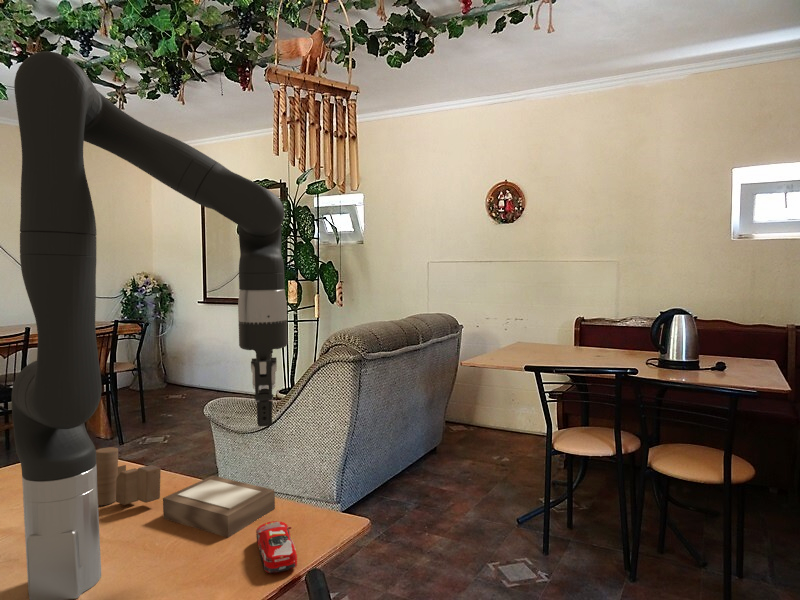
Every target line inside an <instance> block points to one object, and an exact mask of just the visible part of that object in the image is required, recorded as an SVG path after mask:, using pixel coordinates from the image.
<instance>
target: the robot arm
mask: <svg viewBox="0 0 800 600" xmlns="http://www.w3.org/2000/svg"><path fill="white" fill-rule="evenodd" d="M13 83H14V85H13V87H14V88H13V89H14V97H15V104H16V105H15V106H16V111H17V112H16V113H17V119H18V120H17V121H18V127H19V128H18V129H19V136H20V143H21V176H20V178H21V179H20V219H19V220H20V221H19V222H20V223H19V260H20V262H19V263H20V269H21V274H22V280H23V285H24V286H25V291H26V294H27V298H28V300H29V303H30V306H31V308H32V312H33V313H32V314H33V316H34V319H35V324H36V331H37V348H36V349H37V351H36V354H37V355H36V360H35V361H32V362H31V363H29V364H27V365H26V366H25V367H24V368H23V369H22V370H21V371H20V372H19V373H18V375H17V376H16V377H15V379H14V383H13V385H12V389H11V414H12V425H13V435H14V446H15V452H16V455H17V458H18V460H19V463H20V466H21V467H20V468H21V481H22V500H23V502H22V503H23V520H24V537H25V540H24V541H25V557H26V558H25V559H26V572H27V573H26V574H27V577H26V578H27V589H28V590H27V591H28V593H27V594H28V599H29V600H73V599H74V600H75V599H78V598H79V597H80V596H81V595H82V594H83V593H85V592H87V591H88V590H90V589H91V588H92V587H94V586H96V584H97V583H98V582H99V581H100V580H101V577H102V561H101V558H102V557H101V542H100V540H101V537H100V516H99V515H100V514H99V505H98V491H97V467H96V450H97V449H96V446H95V444H94V442H93V441H92V439H91V438H90V436H89V434H88V432H87V429H86V424H85V423H86V422H87V421H88V420H90V419H91V418H92V416H93V415H94V414H95V412H96V410H97V409H98V407H99V404H100V401H101V399H102V398H101V397H102V389H103V388H102V385H103V383H102V375H101V367H100V360H99V352H98V351H99V350H98V342H97V332H96V330H97V329H96V307H97V303H96V301H97V285H96V284H97V283H96V282H97V280H96V279H97V276H96V275H97V223H96V216H95V209H94V205H93V200H92V197H91V196H92V195H91V191H90V187H89V183H88V179H87V175H86V174H87V173H86V169H85V162H84V143H85V142H86V143H88V144H91V145H94V146H96V147H98V148H100V149H103V150H104V151H107V152H109V153H111V154H113V155H115V156H117V157H118V158H121V159H122V160H124V161H127V162H128V163H130V164H131V165H133V166H135V167H137V169H140V170H141V171H143V172H145V173H146V174H148V175H149V176H151V177H152V178H154V179H155V180H157V181H158V182H160V183H162V184H164V185H165V186H167V187H168V188H170V189H171V190H174V191H175V192H177V193H179V194H180V195H183V196H184V197H185V198H187V199H189V200H191V201H193V202H194V203H196V204H197V205H200V206H203V207H204V208H208V209H211V210H213V211H215V212H216V213H218V214H220V215H222V216H223V217H225V218H226V219H228V220H230V221H231V222H233V223H235V224H236V225H237V229H238V241H239V251H240V257H239V261H238V262H239V263H238V285H239V287H238V290H239V292H238V294H239V295H238V302H237V303H238V304H237V315H238V316H237V317H238V345H239V348H240V349H242V350H245V351H254V352H255V358H254V357H253V358H251V361H250V372H251V374H252V382H251V383H252V389H254V401H255V403H256V418H257V419H256V421H257V426H258V427H270V426H272V424H273V406H274V405H273V399H274V394H273V389H275V387H276V373H277V371H278V370H277V367H278V366H277V363H278V362H277V357H276V356H275V357H274V356H273V353H274V352H273V350H279V349H283V348H286V347H287V345H288V341H289V340H288V309H287V308H288V306H287V305H288V303H287V297H286V290H285V288H286V286H285V278H286V277H285V264H284V259H283V256H282V224H283V221H284V218H285V208H284V205H283V204H284V203H282V201H281V199H280V198H279V197H278V195H276V194H275V193H274V192H273V191H271V190H269V189H267V188H266V187H265V186H264V187H263V185H260V184H259V183H256V182H255V181H253V180H250V179H248V178H247V177H244V176H242V175H240V174H238V173H236V172H233V171H231V170H230V169H228V168H227V167H225V166H224V165H223V164H221V163H220V162H219V161H217V160H215V159H213V158H212V157H210V156H208V155H206V154H205V153H203V152H201V151H200V150H198V149H196V148H195V147H193V146H191V145H190V144H188V143H186V142H184V141H181V140H180V139H178V138H175V137H173V136H171V135H168V134H165V133H163V132H161V131H160V130H157V129H155V128H153V127H151V126H148V125H147V124H144V123H142V121H139V120H137V119H136V118H134V117H132V116H131V115H129V114H128V113H126V112H125V111H124V110H122V109H120V107H118V106H117V105H116V104H114V103H113V102H112V101H110V100H109V99H108V98H106V96H104V95H103V94H102V93H101V92H100V91H99V90H98V89H97V88H96V86H95V85H94V83H93V82H92V81H91V79H90V78H89V76H88V75H87V74H86V73H85V71H84V70H83V69H82V67H80V65H78V64H77V63H75V62H74V61H73V60H71V59H70V58H69V57H67V56H65V55H63V54H61V53H58V52H55V51H47V50H45V51H39V52H35V53H33V54H31V55H29V56H27V57H26V58H25V59H24V60H23V61H22V62H21V64H20V65H19V67H18V68H17V71H16V74H15V77H14V82H13Z"/></svg>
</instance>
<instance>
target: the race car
mask: <svg viewBox="0 0 800 600" xmlns="http://www.w3.org/2000/svg"><path fill="white" fill-rule="evenodd" d="M291 529H292V526H289V525H288V524H287V523H286V522H284V521H278V520H274V521H268V522H265V523H263V524H261V525H259V526H258V527H257V529H255V533H256V534H255V536H256V543H257V546H258V551H259V555H260V560H261V562H262V567H263V568H262V569H263V570H264V571H265V572H266V573H269V574H277V573H280V572H284V571H288V570H293V569H294V568H297V566H298V553H297V549H296V546H295V543H294V540H293V537H292V534H291V531H290V530H291Z"/></svg>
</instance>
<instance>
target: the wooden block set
mask: <svg viewBox="0 0 800 600" xmlns="http://www.w3.org/2000/svg"><path fill="white" fill-rule="evenodd" d="M96 467H97V491H98V506H107V505H110V504H113V503H119V504H121V505H123V506H126V505H129V504H132V503H135V502H138V501H140V502H142V503H144V504H145V503H146V504H148V503H150V502H153V501H156V500H160V498H161V472H162V469H161V467H160V466H158V465H154V464H149V465H144V466H141V467H138V468H131V469H127V464H124V465H119V448H118V447H114V446H113V447H112V446H111V447H103V448H98V449H96Z"/></svg>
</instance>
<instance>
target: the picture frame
mask: <svg viewBox="0 0 800 600" xmlns="http://www.w3.org/2000/svg"><path fill="white" fill-rule="evenodd" d="M275 494H276V492H275V489H272V488H267V487H262V486H260V485H259V486H258V485H254V484H250V483H246V482H242V481H239V480H238V481H237V480H233V479H229V478H224V477H221V476H215V475H211V476H209V477H207V478H204V479H203V480H200V481H198V482H195V483H193V484H191V485H189V486H187V487H184V488H182V489H180V490H178V491H175V492H173V493H171V494H169V495H166V496H164V497H162V508H163V509H162V513H163V520H166V521H171V522H173V523H178V524H180V525H184V526H187V527H192V528H195V529H197V530H202V531H204V532H207V533H211V534H214V535H218V536H221V537H225V538H231V537H232V536H233V535H235V534H237V533H238V532H240V531H241V530H243V529H245V528H247V527H248V526H250V525H251V524H253V523H255V522H256V521H258V520H259V518H260V519H261V518H263V517H264V515H265V516H266V515H268V514H270V513H271V512H273V511H274V510H276V500H275V499H276V497H275ZM262 516H263V517H262ZM257 519H258V520H257ZM254 521H255V522H254Z"/></svg>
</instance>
